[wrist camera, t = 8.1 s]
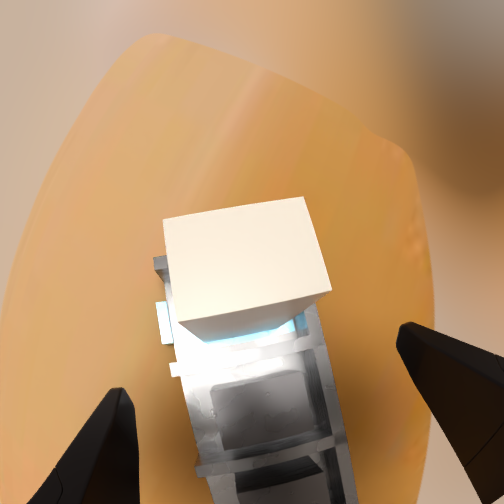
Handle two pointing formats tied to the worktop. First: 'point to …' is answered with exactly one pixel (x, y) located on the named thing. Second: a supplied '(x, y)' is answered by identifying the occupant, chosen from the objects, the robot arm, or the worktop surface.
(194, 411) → the rack
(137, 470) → the robot arm
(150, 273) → the worktop surface
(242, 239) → the white rectangular block
